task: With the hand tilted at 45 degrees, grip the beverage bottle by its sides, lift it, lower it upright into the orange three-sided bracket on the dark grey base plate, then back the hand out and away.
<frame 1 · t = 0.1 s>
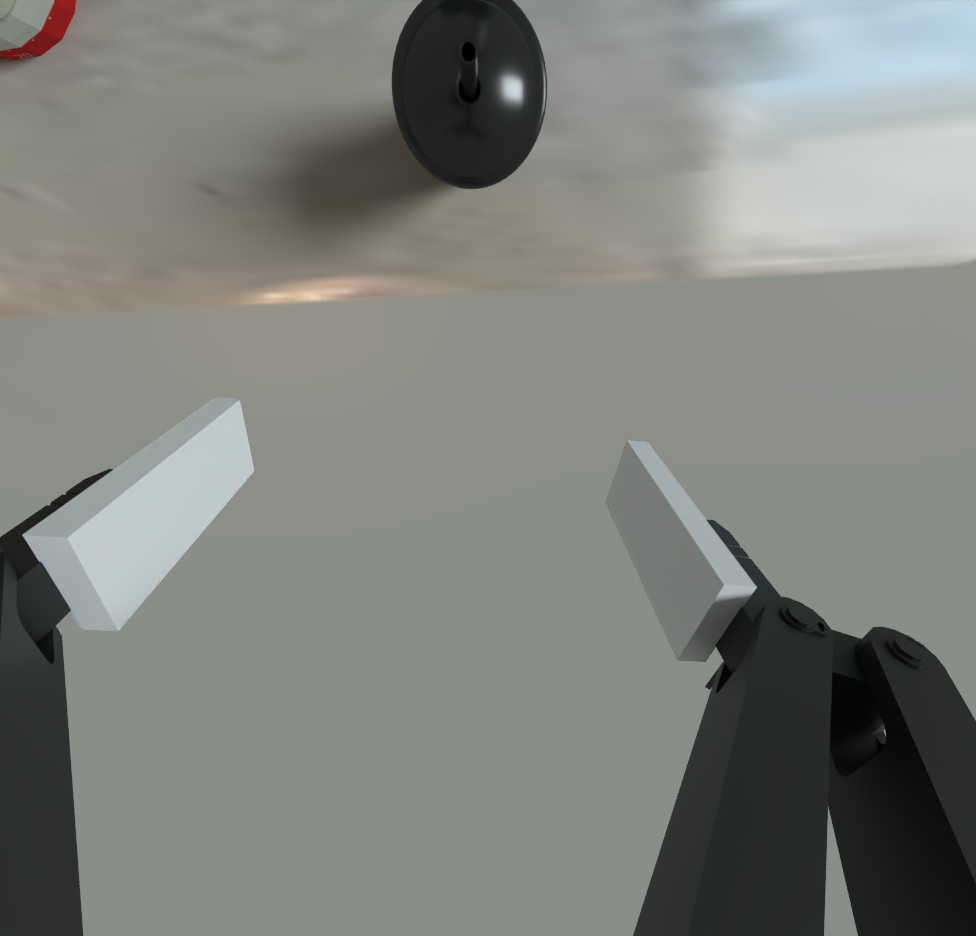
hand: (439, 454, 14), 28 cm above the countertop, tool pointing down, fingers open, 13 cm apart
drinking cup: (471, 138, 32), on the countertop
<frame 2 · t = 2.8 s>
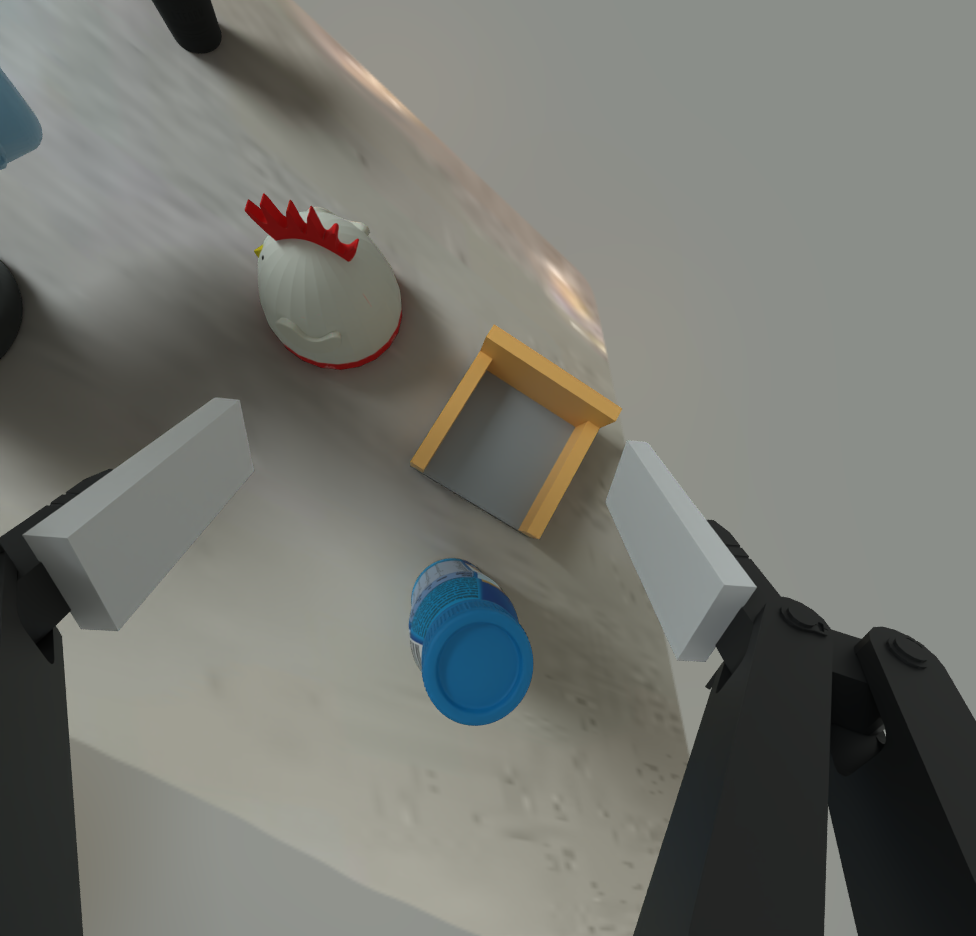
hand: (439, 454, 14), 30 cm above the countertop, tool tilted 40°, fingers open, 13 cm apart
chute bracket: (503, 444, 46), on the countertop
kitchen timer: (337, 308, 45), on the countertop
drinking cup: (198, 35, 45), on the countertop
beverage bottle: (450, 596, 44), on the countertop
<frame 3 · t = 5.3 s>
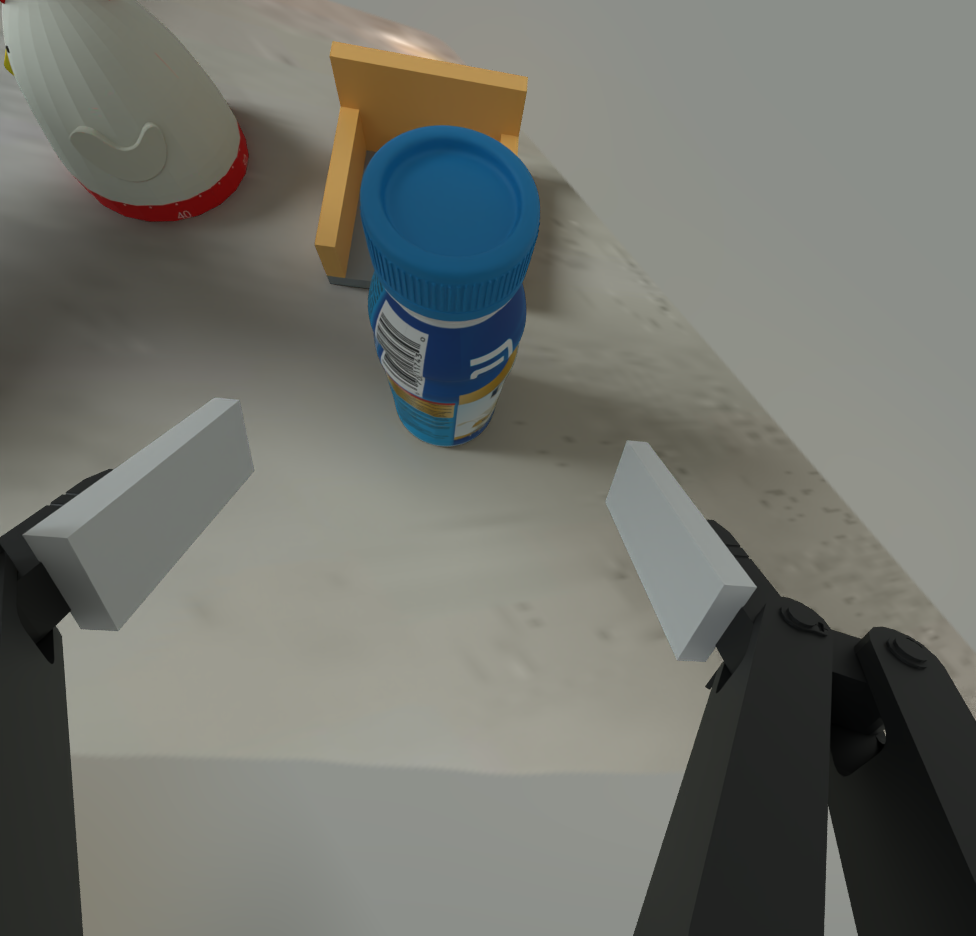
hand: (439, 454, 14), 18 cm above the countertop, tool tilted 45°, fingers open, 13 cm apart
chute bracket: (426, 223, 38), on the countertop
kitchen timer: (167, 158, 36), on the countertop
beverage bottle: (445, 402, 34), on the countertop
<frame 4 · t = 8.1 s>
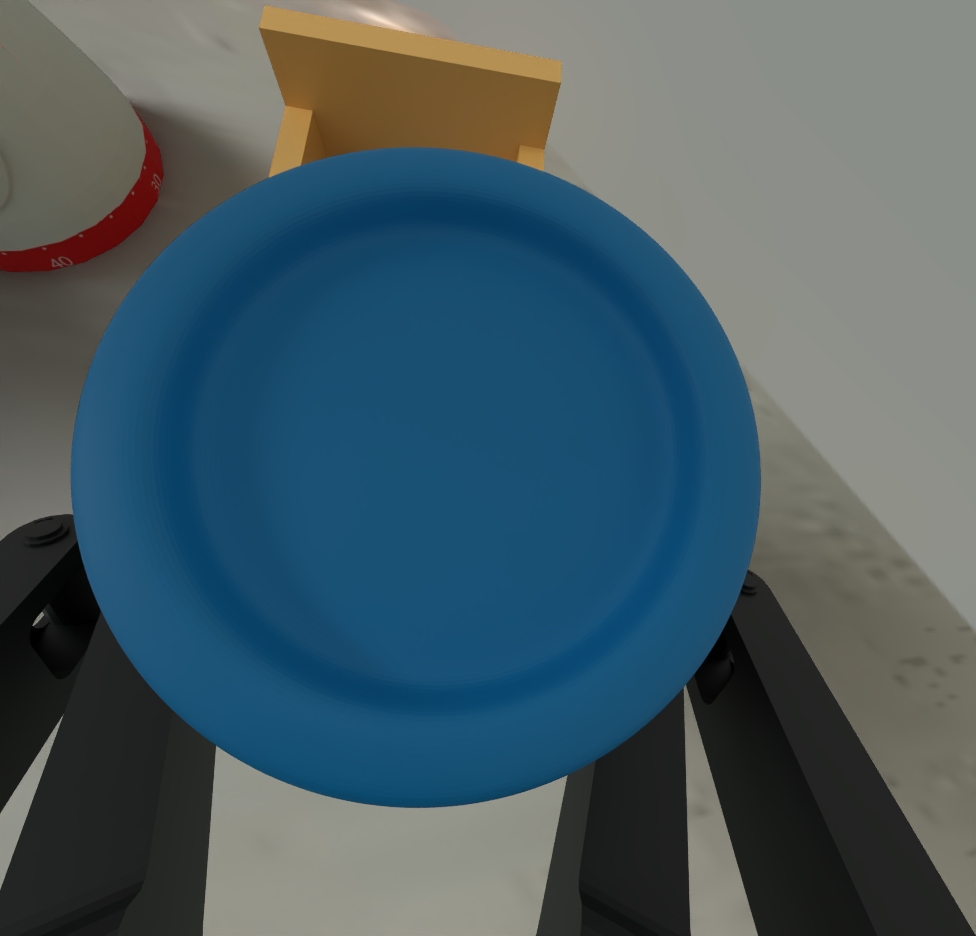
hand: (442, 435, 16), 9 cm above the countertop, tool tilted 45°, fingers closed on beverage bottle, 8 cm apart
chute bracket: (412, 269, 27), on the countertop
kitchen timer: (45, 179, 26), on the countertop
beverage bottle: (437, 537, 23), on the countertop, touching gripper
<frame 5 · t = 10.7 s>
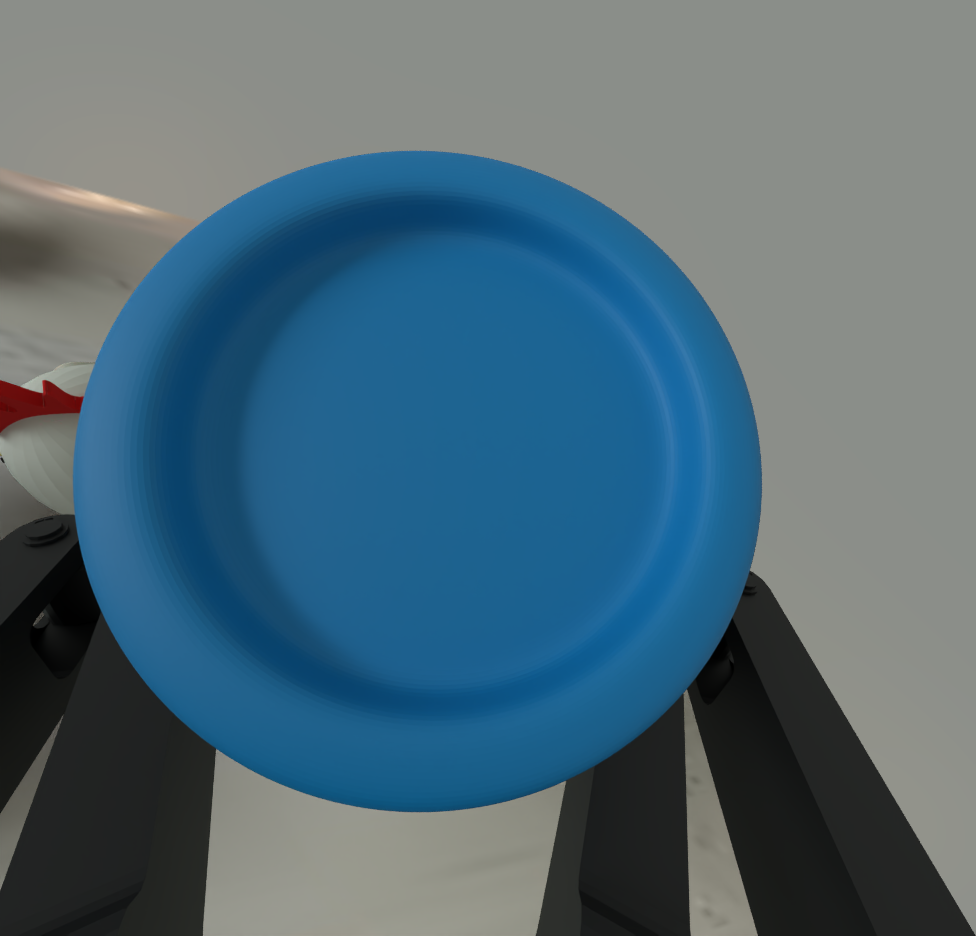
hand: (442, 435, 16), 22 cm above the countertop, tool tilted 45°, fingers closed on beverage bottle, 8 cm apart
kitchen timer: (166, 459, 36), on the countertop
beverage bottle: (437, 538, 23), point 13 cm above the countertop, touching gripper
when the fingers open (11 cm above the countertop, at t = 13.7 s): beverage bottle stays where it is, resting on chute bracket.
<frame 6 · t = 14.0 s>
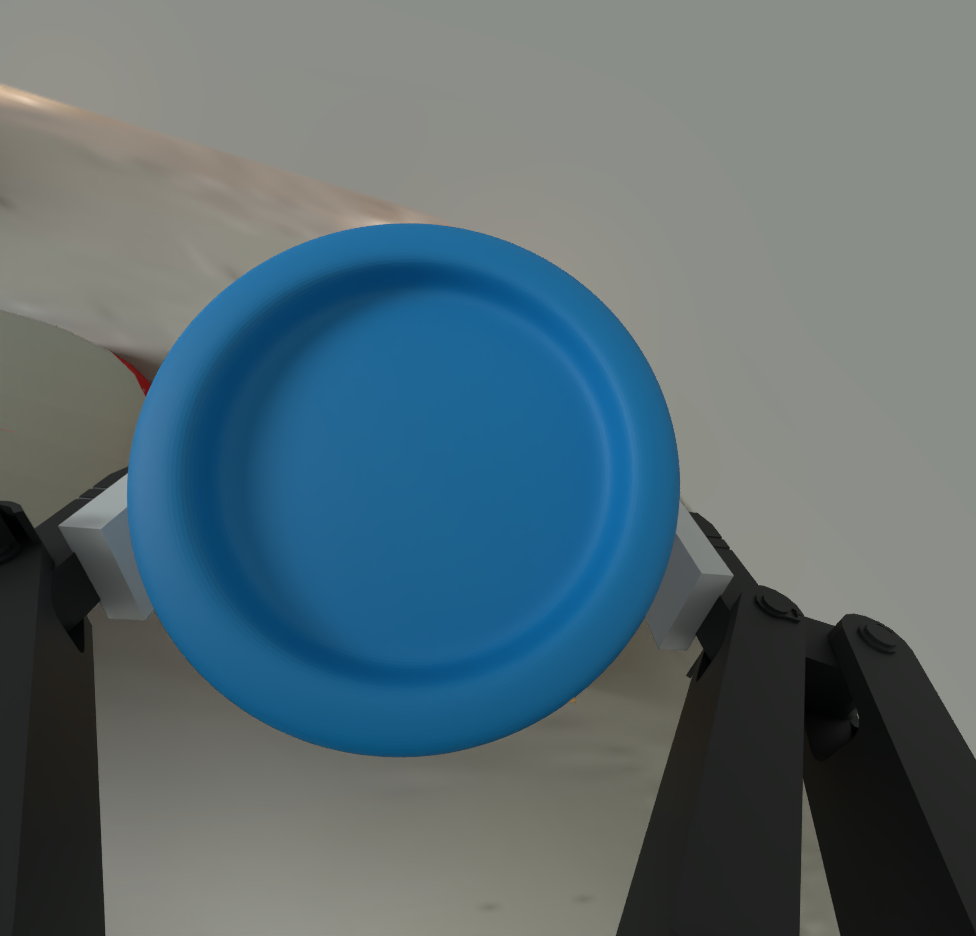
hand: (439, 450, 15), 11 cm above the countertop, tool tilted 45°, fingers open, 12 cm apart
kitchen timer: (44, 453, 24), on the countertop
beverage bottle: (438, 538, 24), point 1 cm above the countertop, touching chute bracket
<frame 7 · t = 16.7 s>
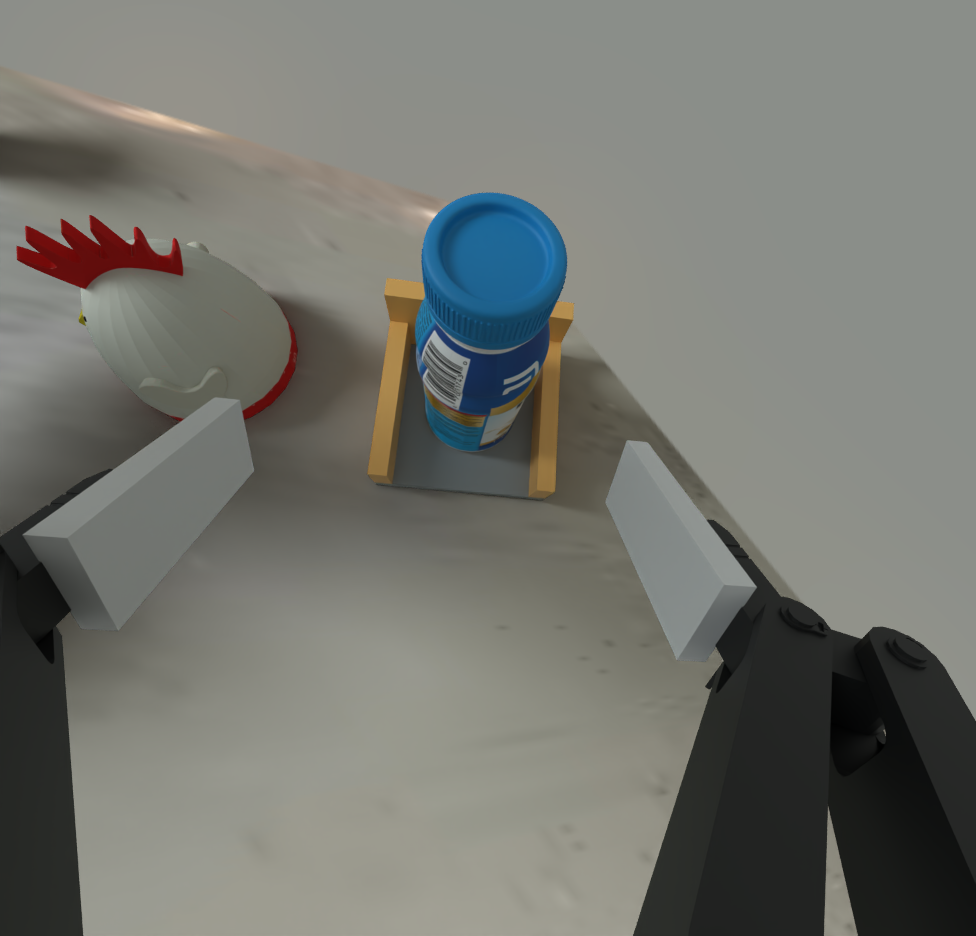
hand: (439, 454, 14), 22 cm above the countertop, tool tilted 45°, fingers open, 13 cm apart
chute bracket: (468, 414, 39), on the countertop
kitchen timer: (220, 355, 38), on the countertop
beverage bottle: (470, 411, 38), point 1 cm above the countertop, touching chute bracket
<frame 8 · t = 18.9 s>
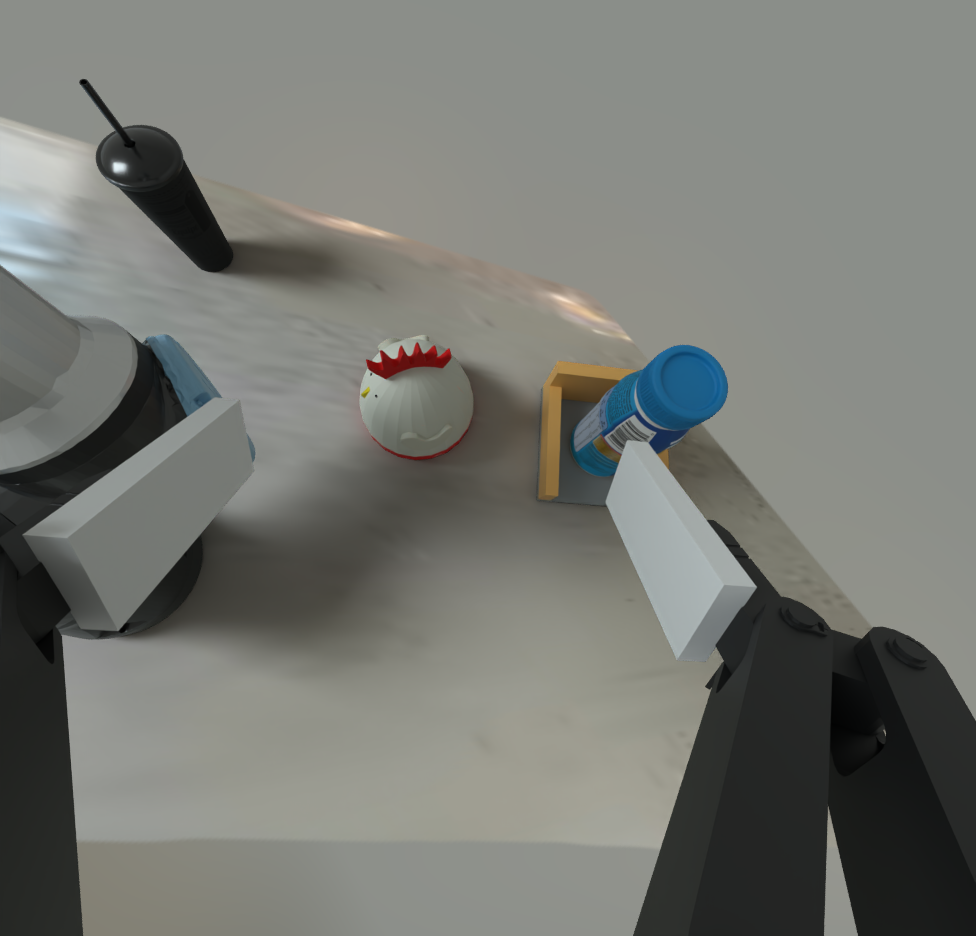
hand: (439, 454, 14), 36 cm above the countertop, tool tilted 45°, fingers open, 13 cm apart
chute bracket: (595, 448, 53), on the countertop
kitchen timer: (418, 407, 52), on the countertop
drinking cup: (214, 256, 54), on the countertop
beverage bottle: (598, 447, 53), point 1 cm above the countertop, touching chute bracket
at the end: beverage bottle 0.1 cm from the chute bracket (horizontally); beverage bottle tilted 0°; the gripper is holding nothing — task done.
